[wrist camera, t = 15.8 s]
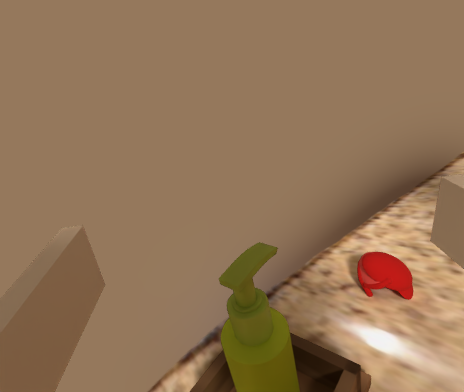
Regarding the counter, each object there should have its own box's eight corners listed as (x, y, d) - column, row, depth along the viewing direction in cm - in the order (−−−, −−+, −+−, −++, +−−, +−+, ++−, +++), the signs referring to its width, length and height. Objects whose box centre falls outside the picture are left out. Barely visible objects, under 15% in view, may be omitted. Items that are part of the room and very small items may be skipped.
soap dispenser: (318, 400, 33) (299, 248, 24) (285, 466, 28) (246, 311, 20) (272, 372, 36) (240, 232, 28) (236, 426, 32) (185, 281, 23)
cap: (345, 280, 45) (382, 277, 40) (354, 246, 48) (389, 239, 43) (380, 309, 47) (420, 309, 42) (387, 274, 50) (424, 271, 45)
